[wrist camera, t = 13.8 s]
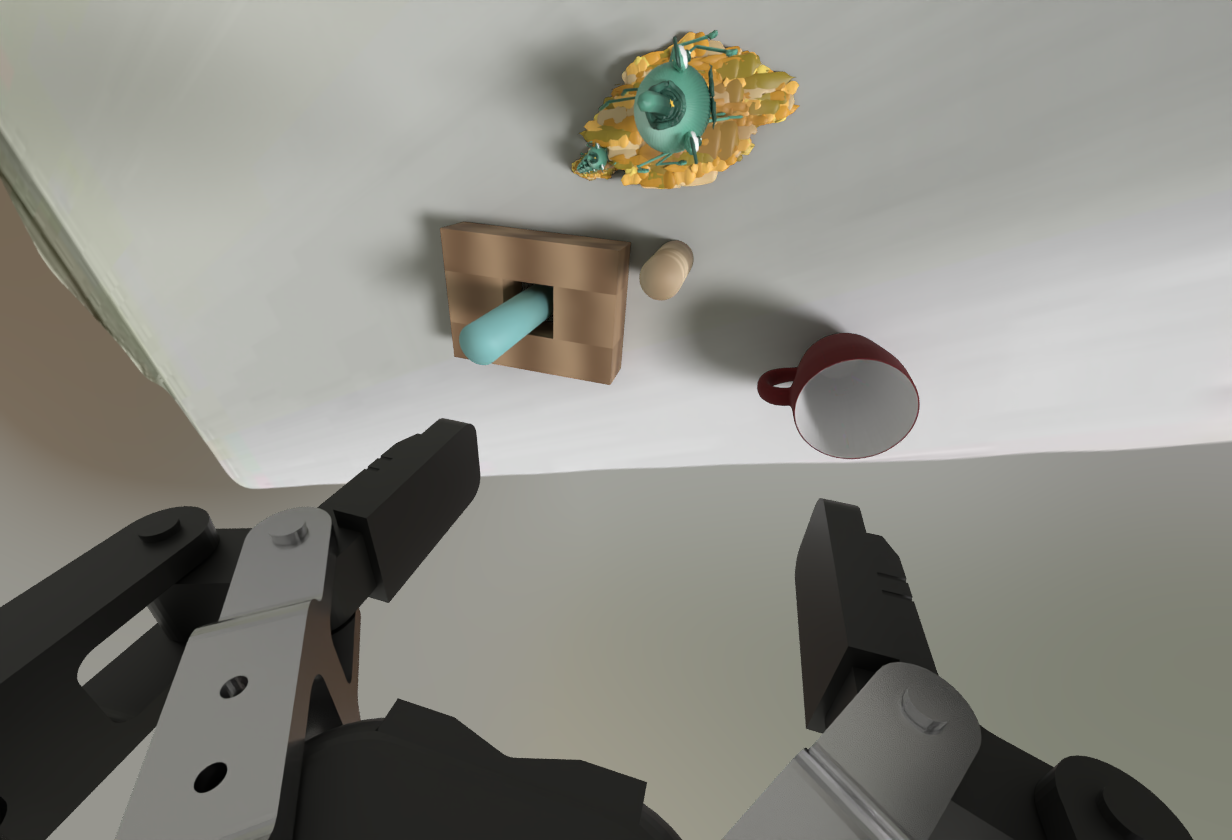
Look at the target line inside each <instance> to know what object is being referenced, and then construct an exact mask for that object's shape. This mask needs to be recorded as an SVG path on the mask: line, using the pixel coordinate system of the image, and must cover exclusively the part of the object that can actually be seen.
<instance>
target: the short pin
mask: <svg viewBox="0 0 1232 840" xmlns="http://www.w3.org/2000/svg"><path fill="white" fill-rule="evenodd" d="M693 260H694V259H693V253H692V251H691V249H690V247H689V246H688V245H687V244H685V243H684V242H682V241H678V240H673V241H669V242H667V243H665V244H664V245H663V246H662V247H661V248H660V249H659V250H658V251H657V252H656V253H655V254H654V255H653V256H652V257H651V258H650V259H649V260H648V261H647V262H646V263H645V264H644V265H643V267H642V269H641V272H640V278H639V279H640V285H641V287H642V289H643V291H644V292H645V293H646V294H647V295H648V296H649V297H651V298H653V299H655V300H667V299H669V298H671V297H673V296H674V295H675V294H676V293H677V292H678V291H679V289H680V287H681V286H682V284H683V282H684V280H685V279H686V277H687V275H688V273H689V272H690V270H691V268H692V265H693Z"/></svg>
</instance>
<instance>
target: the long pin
mask: <svg viewBox="0 0 1232 840" xmlns="http://www.w3.org/2000/svg"><path fill="white" fill-rule="evenodd" d="M552 314H553V286H548V285H541V284H534V285H532V286H530V287H529V288H527V289H526V290H524V291H522V292H521V293H519V294H517V295H516V296H514V297H512V298H511V299H509V300H508V301H506V302H504V303H503V304H501V305H499V306H498V307H496V308H495V309H493V310H491V311H490V312H488V313H486V314H485V315H483V316H481V317H480V318H478V319H477V320H475V321H473V322H472V323H470V324H468V325H467V326H465V327H464V328H463V329H462V330H461V332H460V336H459V343H460V347H461V349H462V351H463V353H464V354H465V356H466V357H467V358H468V359H470V360H471V361H472V362H474V363H476V364H480V365H488V364H491V363H492V362H494V361H495V360H496V359H498V358H499V357H500V356H501V355H503V354H504V353H505V352H506V351H507V350H509V349H510V348H511V347H512V346H514V345H515V344H516V343H517V342H519V341H520V340H521V339H522V338H524V337H525V336H526V335H527V334H529V333H530V332H531V331H532V330H533V329H535V328H536V327H537V326H538V325H540V324H541V323H542V322H543V321H545V320H546V319H547V318H548V317H550V316H551V315H552Z"/></svg>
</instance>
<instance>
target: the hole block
mask: <svg viewBox="0 0 1232 840" xmlns="http://www.w3.org/2000/svg"><path fill="white" fill-rule="evenodd" d="M440 232H441V241H442V250H443V259H444V268H445V277H446V286H447V295H448V304H449V313H450V321H451V330H452V339H453V348H454V357H459V358H464V359H468V358H467V357H466V356H465V354H464V353H463V351H462V349H461V347H460V343H459V336H460V332H461V330H462V329H463V328H464V327H465V326H467V325H468V324H470V323H472V322H473V321H475V320H477V319H478V318H480V317H481V316H483V315H485V314H486V313H488V312H490V311H491V310H493V309H495V308H496V307H498V306H499V305H501V304H503V303H504V302H506V301H508V300H509V299H511V298H512V297H514V296H516V295H517V294H519V293H521V292H522V282H528V283H535V284H541V285H548V286H553V323H552V322H546V321H543V322H542V323H541V324H540V325H538V326H537V327H536V328H535V329H533V330H532V331H531V332H530V333H529V334H527V335H526V336H525V337H524V338H522V339H521V340H520V341H519V342H517V343H516V344H515V345H514V346H512V347H511V348H510V349H509V350H507V351H506V352H505V353H504V354H503V355H501V356H500V357H499V358H498V359H496V360H495V361H494V362H492V364H497V365H503V366H508V367H514V368H519V369H525V370H530V371H536V372H541V373H547V374H552V375H558V376H563V377H569V378H574V379H580V380H585V381H591V382H596V383H602V384H607V385H610V384H611V383H612V381H613V380H614V378H615V377H616V375H617V373H618V372H619V370H620V369H621V360H622V347H623V335H624V322H625V310H626V297H627V285H628V273H629V260H630V248H631V242H625V241H617V240H608V239H600V238H592V237H584V236H576V235H568V234H560V233H552V232H543V231H535V230H527V229H519V228H511V227H503V226H495V225H486V224H478V223H470V222H461V223H457V224H454V225H450V226H446V227H442V228H440Z"/></svg>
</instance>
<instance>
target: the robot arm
mask: <svg viewBox="0 0 1232 840" xmlns="http://www.w3.org/2000/svg"><path fill="white" fill-rule="evenodd" d="M479 484H480V466H479V456H478V445H477V435H476V430H475V427H474V426H473V425H472V424H468V423H464V422H459V421H454V420H449V419H444V418H442V419H439V420H438V421H436V422H435V423H434V424H433V425H432V426H430V427H429V428H428V429H427V430H426V431H425V432H423V433H422V434H416V435H413V436H411V437H409V438H407V439H404V440H402V441H400V442H398V443H396V444H395V445H393V446H392V447H391V448H390V449H389V450H387V451H386V452H385V453H384V454H382V455H381V458H380V459H379V458H377V459H376V460H375V461H374V462H373V463H371V464H370V465H369V466H368V469H364V470H363V471H362V472H360V473H359V474H358V475H357V476H355V477H354V478H353V479H352V480H350V481H349V482H348V483H347V484H346V485H344V486H343V487H342V488H341V489H339V490H338V491H337V492H336V493H335V494H333V495H332V496H331V497H330V498H328V499H327V500H326V501H325V502H323V503H322V504H321V505H320V506H319V507H317V508H315V507H298V508H292V509H288V510H284V511H281V512H278V513H276V514H274V515H272V516H270V517H268V518H266V519H264V520H263V521H261V522H260V523H259V524H257V525H256V526H255V527H254V528H247V529H245V528H241V529H215V527H214V525H213V523H212V521H211V519H210V516H209V514H208V513H207V512H206V511H205V510H203V509H201V508H198V507H191V506H190V507H188V506H184V507H175V508H169V509H165V510H161V511H158V512H155V513H152V514H150V515H147V516H145V517H143V518H141V519H139V520H137V521H135V522H133V523H131V524H130V525H128V526H127V527H125V528H124V529H122V530H120V531H119V532H117V533H116V534H114V535H113V536H111V537H109V538H108V539H106V540H105V541H103V542H102V543H100V544H98V545H97V546H95V547H94V548H92V549H91V550H89V551H88V552H86V553H84V554H83V555H82V556H80V557H78V558H77V559H75V560H74V561H72V562H70V563H69V564H67V565H66V566H64V567H63V568H61V569H60V570H58V571H56V572H55V573H53V574H52V575H50V576H49V577H47V578H46V579H44V580H42V581H41V582H39V583H38V584H36V585H34V586H33V587H31V588H30V589H28V590H27V591H25V592H24V593H22V594H20V595H19V596H18V597H16V598H14V599H13V600H11V601H10V602H8V603H6V604H5V605H3V606H2V607H0V840H46V839H47V838H48V836H49V835H50V834H51V833H52V832H53V831H54V830H55V829H56V828H57V827H58V826H59V825H60V824H61V823H62V822H63V821H64V820H65V819H66V818H67V817H68V816H69V815H70V814H71V813H72V812H73V811H74V810H75V809H76V808H77V807H78V806H79V805H80V804H81V803H82V802H83V801H84V800H85V799H86V798H87V797H88V795H90V794H91V792H92V791H93V790H94V789H95V788H96V787H97V786H98V785H99V784H100V783H101V782H102V781H103V780H104V779H105V778H106V777H107V776H108V775H109V774H110V773H111V772H112V771H113V770H114V769H115V768H116V767H117V766H118V765H119V764H120V763H121V762H122V761H123V760H124V759H125V758H126V757H127V756H128V755H129V754H130V753H131V752H132V751H133V750H134V748H135V747H136V746H137V745H138V744H139V743H140V742H141V741H142V740H143V739H144V738H145V737H146V736H147V735H148V734H149V733H150V732H151V731H152V730H153V729H154V728H155V727H156V729H155V732H154V734H153V737H152V740H151V742H150V745H149V748H148V750H147V753H146V756H145V759H144V761H143V764H142V767H141V769H140V772H139V775H138V778H137V780H136V783H135V786H134V788H133V791H132V794H131V797H130V800H129V802H128V805H127V807H126V810H125V813H124V816H123V819H122V821H121V824H120V827H119V829H118V832H117V835H116V837H115V840H682V839H681V838H680V837H679V835H678V834H677V833H676V832H675V831H674V830H673V828H672V827H671V826H669V824H668V823H666V822H665V821H664V820H663V819H662V818H661V817H660V816H659V815H658V814H657V813H656V812H654V811H653V810H651V809H650V808H648V807H647V806H646V805H645V804H643V801H644V796H645V789H646V784H647V782H644V781H642V780H639V779H636V778H633V777H629V776H627V775H624V774H621V773H618V772H615V771H612V770H609V769H606V768H603V767H600V766H597V765H594V764H591V763H588V762H585V761H582V760H564V759H562V760H561V759H531V758H512V757H508V756H506V755H504V754H502V753H501V752H500V751H498V750H497V749H496V748H494V747H493V746H492V745H490V744H489V743H488V742H486V741H485V740H484V739H482V738H481V737H480V736H478V735H477V734H476V733H474V732H473V731H472V730H470V729H469V728H468V727H466V726H465V725H464V724H462V723H461V722H460V721H458V720H457V719H456V718H454V717H452V716H449V715H446V714H443V713H440V712H437V711H434V710H431V709H428V708H425V707H422V706H419V705H416V704H413V703H410V702H407V701H404V700H401V699H397V701H396V702H395V704H394V705H393V707H392V708H391V710H390V711H389V713H388V714H387V716H386V717H385V718H376V719H367V720H361V719H360V712H359V706H358V675H359V674H358V673H359V651H360V626H361V613H360V610H359V607H360V605H361V604H362V603H363V602H364V601H365V600H366V599H367V598H368V597H371V598H374V599H377V600H381V601H384V602H387V603H389V602H390V601H391V600H392V598H393V597H394V596H395V595H396V593H397V592H398V591H399V590H400V589H401V587H402V586H403V585H404V584H405V582H406V581H407V580H408V579H409V577H410V576H411V575H412V574H413V572H414V571H415V570H416V569H417V568H418V567H419V565H420V564H421V563H422V561H423V560H424V559H425V558H426V557H427V555H428V554H429V553H430V552H431V551H432V549H433V548H434V547H435V546H436V544H437V543H438V542H439V541H440V540H441V538H442V537H443V536H444V535H445V533H446V532H447V531H448V530H449V528H450V527H451V526H452V525H453V524H454V522H455V521H456V520H457V519H458V517H459V516H460V515H461V514H462V513H463V511H464V510H465V509H466V508H467V506H468V505H469V504H470V503H471V502H472V500H473V499H474V497H475V495H476V493H477V491H478V488H479ZM795 585H796V599H797V611H798V612H797V613H798V625H799V640H800V653H801V666H802V680H803V693H804V707H805V720H806V729H809V730H813V731H816V732H819V733H823V734H822V735H821V736H820V738H819V739H818V740H817V741H816V742H815V743H814V744H813V745H812V747H810V748H809V749H807V748H804V749H803V750H802V751H800V752H799V753H798V754H797V755H796V756H795V758H793V759H792V761H791V762H790V763H789V764H788V765H787V766H786V767H785V768H784V769H783V771H782V772H781V773H780V774H779V775H778V776H777V777H776V778H775V780H774V781H773V782H772V783H771V784H770V785H769V786H768V788H767V789H766V790H765V791H764V792H763V793H762V794H761V796H760V797H759V798H758V799H757V800H756V801H755V802H754V803H753V804H752V806H751V807H750V808H749V809H748V810H747V811H746V812H745V813H744V815H743V816H742V817H741V818H740V819H739V820H738V821H737V823H736V824H735V825H734V826H733V827H732V828H731V829H730V830H729V832H728V833H727V834H726V835H725V836H724V837H723V838H722V840H1193V839H1192V837H1191V836H1190V834H1189V832H1188V831H1187V829H1186V828H1185V827H1184V826H1183V824H1182V823H1181V822H1180V821H1179V819H1178V818H1177V817H1176V816H1175V815H1174V814H1173V812H1172V811H1171V810H1170V809H1169V808H1168V807H1167V806H1166V805H1165V804H1164V803H1163V802H1162V801H1161V800H1160V799H1159V798H1158V797H1157V796H1155V794H1153V793H1152V792H1151V791H1150V790H1148V789H1147V788H1146V787H1145V786H1144V785H1142V784H1141V783H1140V782H1138V781H1137V780H1135V779H1134V778H1133V777H1131V776H1130V775H1128V774H1126V773H1125V772H1123V771H1121V770H1120V769H1118V768H1116V767H1114V766H1112V765H1110V764H1108V763H1105V762H1103V761H1100V760H1098V759H1094V758H1091V757H1087V756H1069V757H1067V758H1064V759H1063V760H1062V761H1061V762H1060V763H1058V764H1057V765H1056V766H1055V767H1052V766H1050V765H1049V764H1047V763H1045V762H1043V761H1041V760H1039V759H1038V758H1036V757H1034V756H1032V755H1030V754H1028V753H1027V752H1025V751H1023V750H1021V749H1019V748H1017V747H1016V746H1014V745H1012V744H1010V743H1008V742H1006V741H1005V740H1003V739H1001V738H999V737H997V736H996V735H994V734H992V733H991V732H989V731H987V730H986V729H985V728H983V727H982V726H981V725H979V723H978V720H977V718H976V716H975V714H974V712H973V710H972V709H971V708H970V706H969V704H968V703H967V701H966V700H965V699H964V698H963V697H962V695H961V694H959V692H958V691H957V690H955V688H954V687H953V686H951V685H950V684H949V683H948V682H946V681H945V680H944V679H942V678H941V677H939V675H938V673H937V670H936V667H935V664H934V661H933V658H932V655H931V652H930V649H929V647H928V643H927V640H926V637H925V634H924V631H923V628H922V625H921V622H920V619H919V616H918V613H917V610H916V607H915V604H914V602H913V601H912V594H911V591H910V588H909V585H908V583H906V576H905V573H904V570H903V567H902V564H901V561H900V558H899V556H898V555H897V554H896V553H895V551H894V550H893V549H892V548H891V547H890V545H889V544H888V543H887V542H886V540H885V539H884V538H883V537H882V536H879V535H875V534H870V533H866V530H865V526H864V522H863V518H862V515H861V511H860V508H859V507H858V506H855V505H851V504H846V503H841V502H836V501H832V500H826V499H822V498H820V499H819V500H818V501H817V503H816V505H815V508H814V510H813V513H812V516H811V518H810V522H809V524H808V527H807V530H806V532H805V535H804V538H803V540H802V543H801V546H800V549H799V552H798V556H797V561H796V569H795ZM146 606H147V607H148V608H149V610H150V611H151V613H152V615H153V616H154V618H155V619H156V620H157V622H158V623H157V624H156V625H155V626H153V627H152V628H151V629H150V630H149V631H147V632H146V633H145V634H144V635H143V636H141V637H140V638H139V639H138V640H137V641H135V642H134V643H133V644H132V645H131V646H130V647H128V648H127V649H126V650H125V651H124V652H122V653H121V654H120V655H119V656H118V657H117V658H115V659H114V660H113V661H112V662H111V663H109V664H108V665H107V666H106V667H105V668H104V669H102V670H101V671H100V672H99V673H98V674H96V675H95V676H94V677H93V678H92V679H90V680H89V681H88V682H87V683H86V684H85V685H84V686H82V687H81V685H80V684H79V683H78V680H77V673H78V669H79V667H80V665H81V663H82V661H83V660H84V658H85V657H86V656H87V654H89V653H90V652H91V651H92V650H93V649H94V648H95V647H96V646H98V644H100V643H101V642H103V641H104V640H105V639H106V638H108V637H109V636H110V635H111V634H113V633H114V632H115V631H116V630H118V629H119V628H120V627H121V626H123V625H124V624H125V623H126V622H127V621H129V620H130V619H131V618H132V617H134V616H135V615H136V614H138V613H139V612H140V611H141V610H143V609H144V608H145V607H146Z"/></svg>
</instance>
